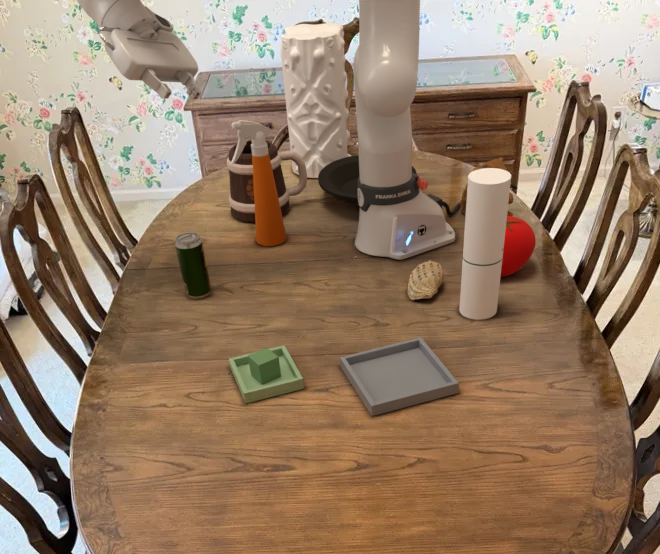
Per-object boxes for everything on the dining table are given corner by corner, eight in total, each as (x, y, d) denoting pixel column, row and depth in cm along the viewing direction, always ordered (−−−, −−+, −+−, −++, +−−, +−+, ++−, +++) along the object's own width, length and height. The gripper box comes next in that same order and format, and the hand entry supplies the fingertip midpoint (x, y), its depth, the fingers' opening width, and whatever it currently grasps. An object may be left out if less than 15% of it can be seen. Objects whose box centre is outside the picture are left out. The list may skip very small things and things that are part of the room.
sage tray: (285, 354, 133) (284, 344, 131) (304, 388, 125) (303, 378, 123) (230, 368, 131) (228, 358, 129) (245, 403, 123) (243, 393, 122)
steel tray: (420, 346, 132) (420, 336, 130) (458, 393, 121) (459, 382, 119) (340, 367, 129) (339, 357, 127) (371, 416, 118) (371, 406, 117)
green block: (270, 366, 129) (267, 347, 127) (281, 376, 127) (278, 356, 124) (250, 374, 128) (247, 355, 125) (261, 384, 126) (258, 365, 123)
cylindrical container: (499, 302, 140) (514, 169, 123) (493, 321, 136) (507, 185, 118) (463, 298, 142) (472, 166, 125) (455, 317, 138) (464, 182, 120)
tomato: (465, 285, 146) (468, 235, 139) (460, 256, 155) (463, 207, 148) (536, 282, 145) (544, 232, 137) (527, 253, 154) (534, 204, 146)
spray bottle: (237, 245, 166) (216, 120, 148) (275, 230, 170) (260, 107, 152) (253, 255, 162) (234, 128, 143) (292, 239, 166) (279, 114, 147)
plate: (428, 214, 171) (429, 190, 167) (329, 228, 169) (328, 204, 165) (401, 171, 190) (401, 149, 186) (312, 183, 189) (310, 161, 185)
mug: (234, 228, 173) (223, 162, 162) (227, 204, 183) (217, 141, 172) (315, 215, 175) (309, 150, 164) (304, 192, 185) (298, 129, 174)
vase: (284, 180, 192) (269, 39, 169) (296, 157, 203) (283, 22, 180) (347, 179, 189) (340, 36, 166) (356, 156, 200) (350, 19, 177)
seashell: (448, 309, 146) (438, 268, 149) (452, 290, 140) (442, 248, 143) (410, 314, 145) (401, 273, 148) (413, 295, 139) (404, 253, 143)
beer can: (193, 302, 149) (180, 246, 140) (182, 292, 152) (169, 237, 144) (216, 294, 151) (205, 238, 142) (205, 284, 154) (193, 229, 145)
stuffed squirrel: (484, 233, 162) (489, 172, 152) (446, 213, 171) (449, 154, 161) (519, 221, 165) (526, 161, 155) (480, 202, 174) (484, 143, 164)
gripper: (102, 9, 118) (157, 80, 120) (174, 21, 135) (221, 83, 136) (84, 42, 122) (138, 110, 124) (156, 49, 138) (203, 109, 140)
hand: (182, 96), depth 130 cm, fingers open, 8 cm apart
